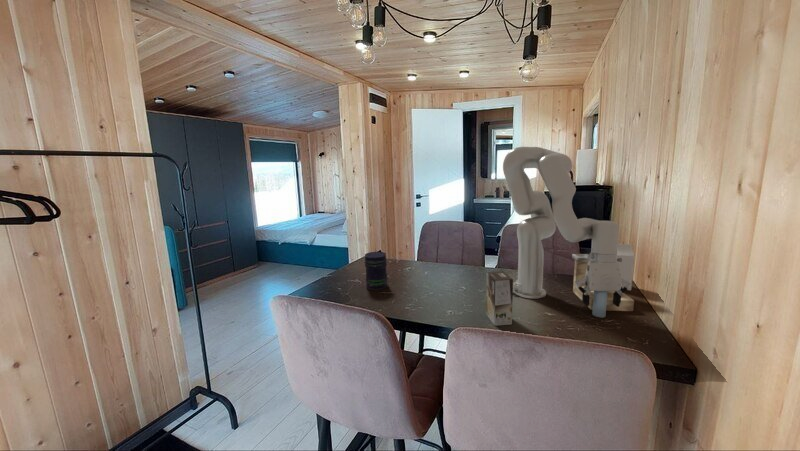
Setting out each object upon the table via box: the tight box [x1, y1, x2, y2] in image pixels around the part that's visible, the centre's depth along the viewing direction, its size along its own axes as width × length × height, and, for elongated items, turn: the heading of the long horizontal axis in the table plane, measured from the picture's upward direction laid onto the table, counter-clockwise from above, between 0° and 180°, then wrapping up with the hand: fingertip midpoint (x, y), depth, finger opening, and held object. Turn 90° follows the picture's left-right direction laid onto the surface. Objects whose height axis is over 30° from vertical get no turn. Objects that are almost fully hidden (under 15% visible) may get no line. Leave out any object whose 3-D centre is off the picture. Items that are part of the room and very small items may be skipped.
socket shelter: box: [571, 253, 635, 312], centre depth 127 cm, size 16×18×16 cm
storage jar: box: [364, 251, 388, 291], centre depth 151 cm, size 10×10×15 cm
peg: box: [591, 291, 608, 319], centre depth 115 cm, size 4×4×10 cm
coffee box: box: [485, 270, 514, 327], centre depth 114 cm, size 9×6×16 cm
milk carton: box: [617, 243, 635, 291], centre depth 139 cm, size 7×7×19 cm
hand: (600, 304), depth 115 cm, fingers open, 9 cm apart
